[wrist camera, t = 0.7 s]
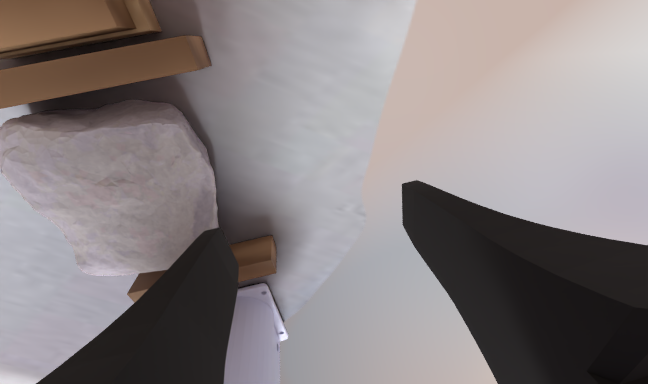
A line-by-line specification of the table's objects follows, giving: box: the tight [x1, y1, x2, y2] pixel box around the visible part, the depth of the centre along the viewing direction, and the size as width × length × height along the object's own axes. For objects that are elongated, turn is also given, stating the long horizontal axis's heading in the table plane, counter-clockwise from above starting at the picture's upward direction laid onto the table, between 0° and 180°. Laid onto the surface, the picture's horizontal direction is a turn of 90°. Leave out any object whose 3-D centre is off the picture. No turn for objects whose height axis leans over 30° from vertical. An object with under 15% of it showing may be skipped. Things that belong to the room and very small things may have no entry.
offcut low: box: [0, 0, 162, 59], centre depth 13 cm, size 4×8×2 cm, turn 100°
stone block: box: [0, 99, 219, 276], centre depth 18 cm, size 12×5×10 cm
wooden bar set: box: [0, 35, 276, 302], centre depth 15 cm, size 23×26×3 cm
